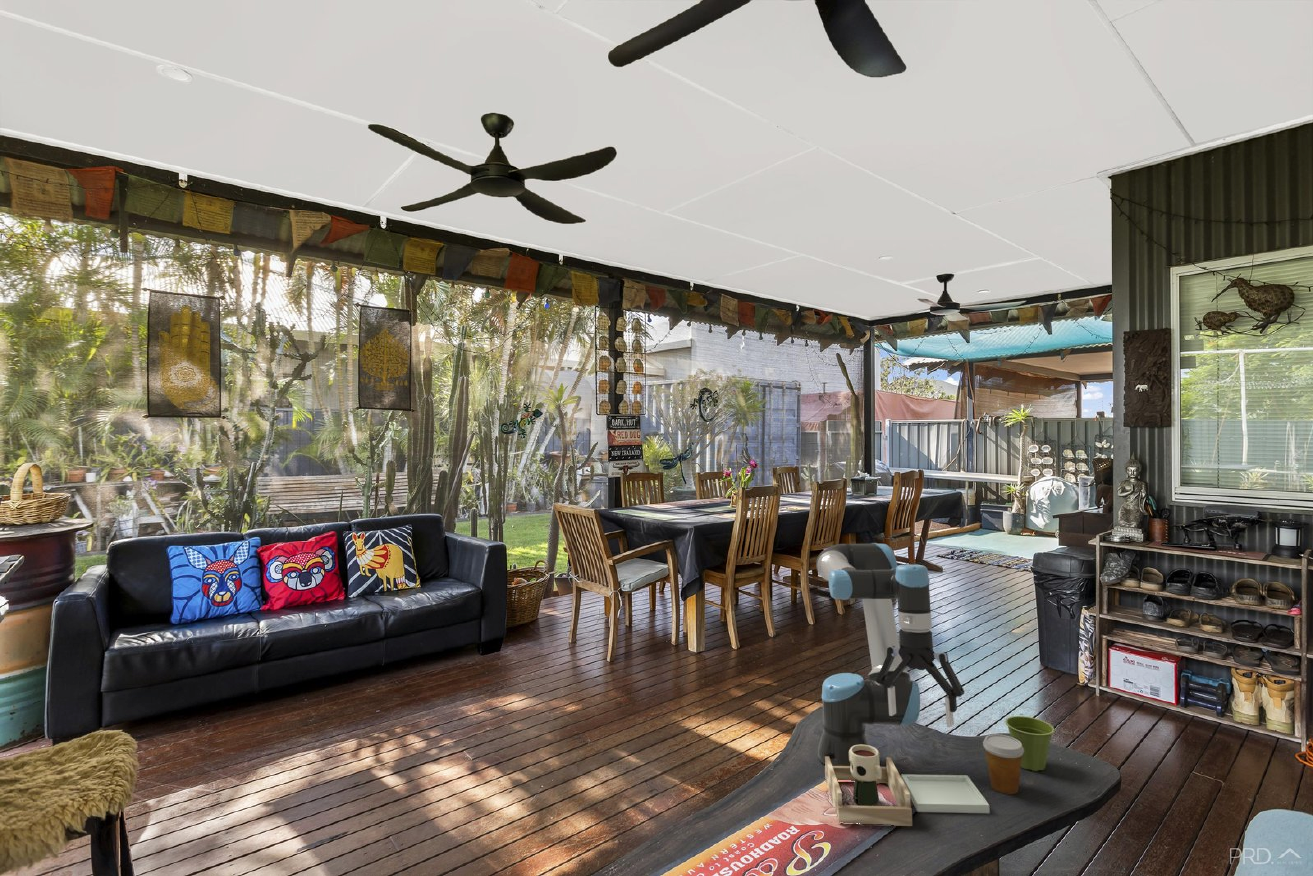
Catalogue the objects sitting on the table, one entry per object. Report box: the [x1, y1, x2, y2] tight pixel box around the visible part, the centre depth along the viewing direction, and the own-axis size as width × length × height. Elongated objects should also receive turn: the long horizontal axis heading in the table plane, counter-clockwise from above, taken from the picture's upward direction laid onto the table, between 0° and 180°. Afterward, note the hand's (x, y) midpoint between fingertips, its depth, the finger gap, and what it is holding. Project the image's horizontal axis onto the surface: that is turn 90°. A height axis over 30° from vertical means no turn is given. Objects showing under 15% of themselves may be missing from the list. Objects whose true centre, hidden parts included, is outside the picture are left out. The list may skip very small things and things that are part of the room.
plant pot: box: [1004, 715, 1055, 772], centre depth 182 cm, size 12×12×11 cm
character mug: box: [849, 744, 882, 806], centre depth 166 cm, size 11×7×13 cm, turn 27°
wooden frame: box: [824, 756, 913, 827], centre depth 166 cm, size 20×17×7 cm
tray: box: [900, 773, 990, 814], centre depth 167 cm, size 14×17×2 cm
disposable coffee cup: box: [982, 733, 1024, 795], centre depth 171 cm, size 10×10×12 cm
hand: (920, 720), depth 158 cm, fingers open, 13 cm apart
